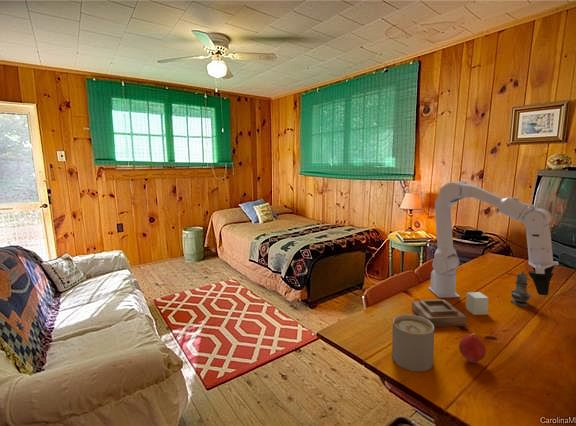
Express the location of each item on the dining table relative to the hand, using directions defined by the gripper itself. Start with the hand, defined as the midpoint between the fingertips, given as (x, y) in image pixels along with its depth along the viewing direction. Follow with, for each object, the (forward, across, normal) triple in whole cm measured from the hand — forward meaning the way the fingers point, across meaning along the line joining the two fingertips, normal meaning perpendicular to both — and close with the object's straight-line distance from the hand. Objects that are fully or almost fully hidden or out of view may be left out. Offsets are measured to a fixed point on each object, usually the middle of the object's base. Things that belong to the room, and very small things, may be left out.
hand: (543, 290), depth 92 cm
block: (+8, -4, +18) cm, 20 cm away
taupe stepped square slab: (+7, -16, +27) cm, 32 cm away
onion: (+10, -35, +14) cm, 39 cm away
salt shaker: (+10, +13, +8) cm, 18 cm away
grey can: (+8, -42, +25) cm, 49 cm away
